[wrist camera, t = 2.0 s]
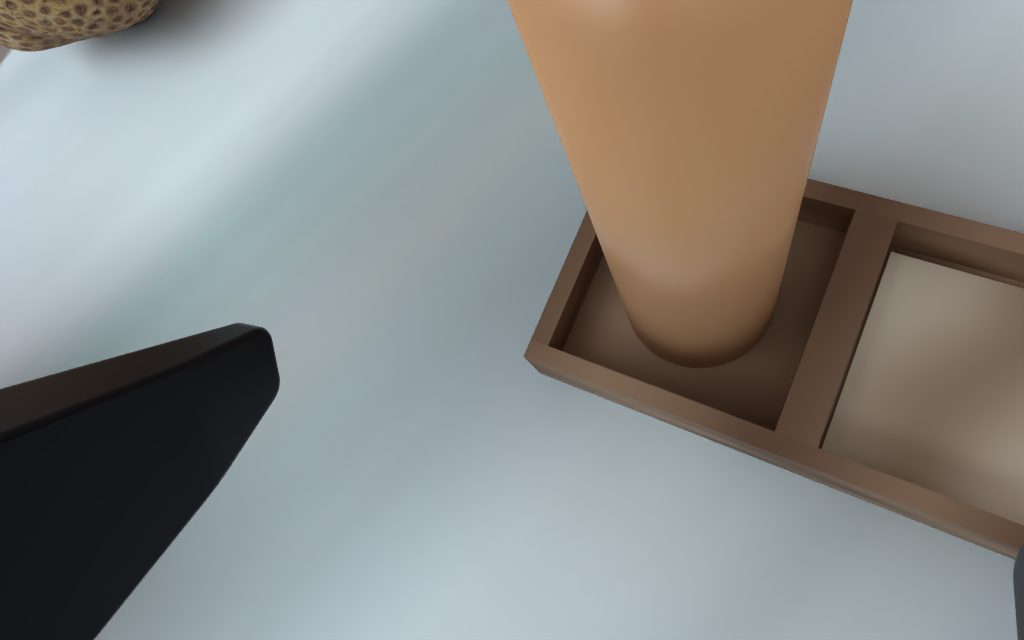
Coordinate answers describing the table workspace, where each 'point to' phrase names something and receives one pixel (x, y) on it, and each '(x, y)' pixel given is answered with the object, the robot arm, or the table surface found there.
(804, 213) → the brown divided tray
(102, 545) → the robot arm
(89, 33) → the natural sponge
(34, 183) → the table surface
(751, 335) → the tan rounded column
